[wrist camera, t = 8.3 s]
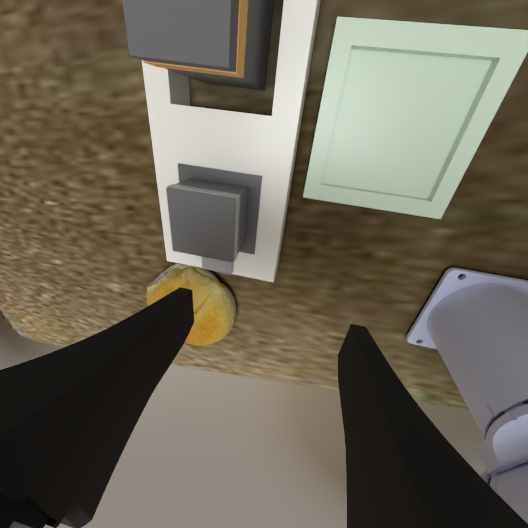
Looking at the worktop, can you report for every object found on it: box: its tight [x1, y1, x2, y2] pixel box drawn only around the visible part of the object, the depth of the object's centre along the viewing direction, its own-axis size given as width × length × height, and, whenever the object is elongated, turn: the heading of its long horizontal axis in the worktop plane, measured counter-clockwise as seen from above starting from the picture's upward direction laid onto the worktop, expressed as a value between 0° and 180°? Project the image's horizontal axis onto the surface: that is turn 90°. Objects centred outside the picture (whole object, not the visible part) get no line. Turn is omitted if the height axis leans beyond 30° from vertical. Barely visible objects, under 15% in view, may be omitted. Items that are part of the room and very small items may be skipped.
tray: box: [303, 17, 528, 219], centre depth 14 cm, size 9×9×1 cm
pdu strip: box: [142, 0, 321, 282], centre depth 14 cm, size 9×18×6 cm, turn 174°
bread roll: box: [146, 263, 236, 345], centre depth 23 cm, size 8×9×4 cm
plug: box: [122, 0, 274, 91], centre depth 11 cm, size 4×4×7 cm
